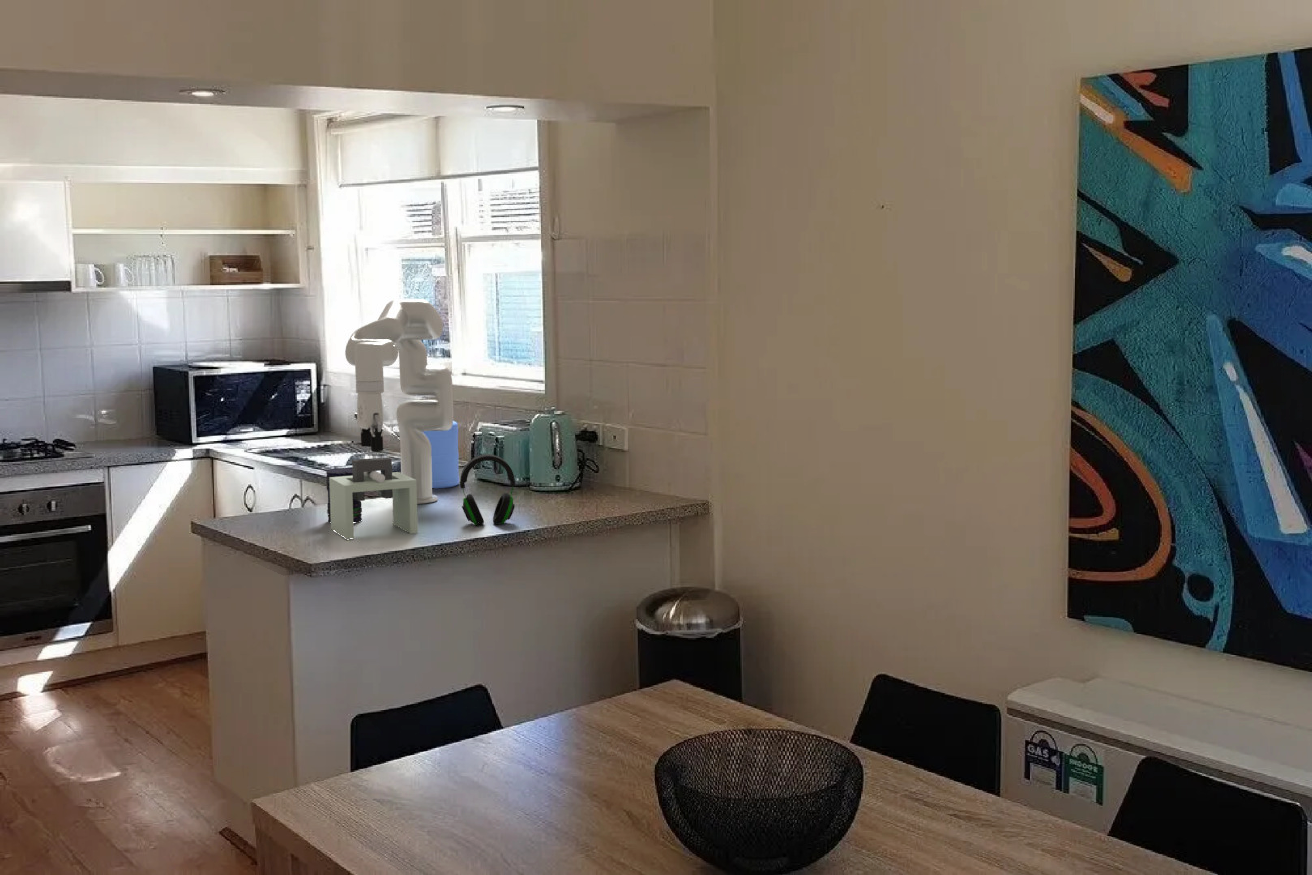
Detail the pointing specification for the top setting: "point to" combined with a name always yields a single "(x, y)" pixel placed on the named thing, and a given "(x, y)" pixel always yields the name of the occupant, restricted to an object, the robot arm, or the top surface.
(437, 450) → the light blue cylinder
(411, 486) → the shelf
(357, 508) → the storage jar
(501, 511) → the headphones
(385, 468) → the grey bridge arch
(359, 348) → the robot arm
